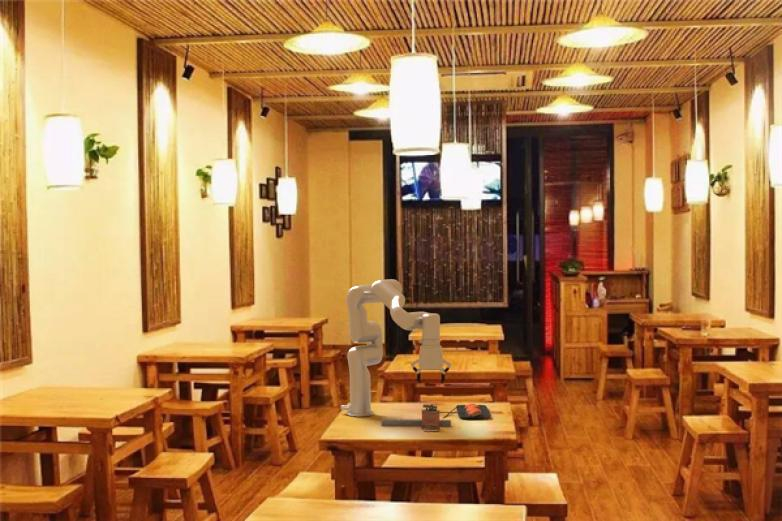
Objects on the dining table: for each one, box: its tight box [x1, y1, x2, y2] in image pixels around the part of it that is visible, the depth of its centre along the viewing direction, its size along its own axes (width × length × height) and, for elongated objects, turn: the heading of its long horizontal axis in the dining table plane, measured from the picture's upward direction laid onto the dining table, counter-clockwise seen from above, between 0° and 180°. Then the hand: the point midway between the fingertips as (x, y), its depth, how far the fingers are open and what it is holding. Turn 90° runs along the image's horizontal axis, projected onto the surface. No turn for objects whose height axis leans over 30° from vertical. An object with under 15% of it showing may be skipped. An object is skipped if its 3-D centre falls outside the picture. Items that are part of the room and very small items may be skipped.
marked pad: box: [423, 428, 440, 433], centre depth 364 cm, size 6×11×1 cm, turn 175°
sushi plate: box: [439, 403, 492, 420], centre depth 396 cm, size 29×30×4 cm
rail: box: [380, 417, 452, 427], centre depth 371 cm, size 30×2×3 cm, turn 85°
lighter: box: [421, 403, 441, 430], centre depth 364 cm, size 8×3×10 cm, turn 71°
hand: (430, 382), depth 364 cm, fingers open, 9 cm apart
